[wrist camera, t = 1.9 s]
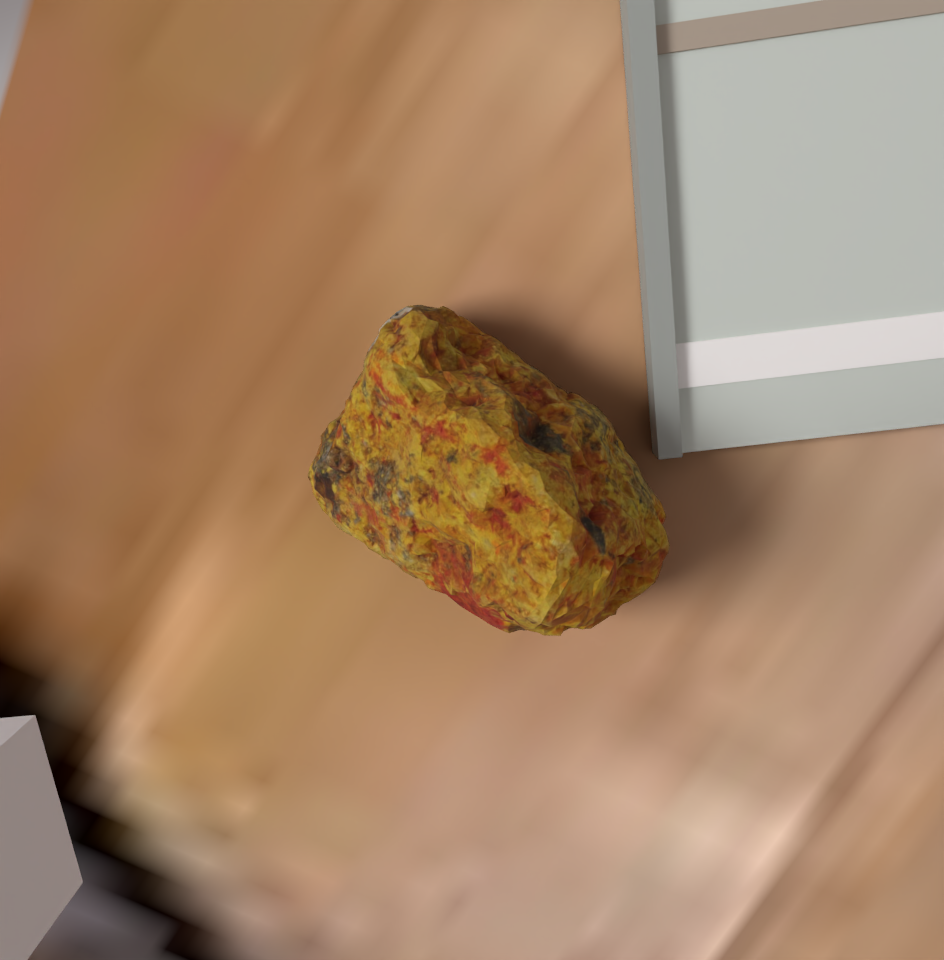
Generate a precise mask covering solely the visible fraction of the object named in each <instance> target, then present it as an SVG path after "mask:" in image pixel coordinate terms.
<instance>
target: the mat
mask: <svg viewBox="0 0 944 960" xmlns="http://www.w3.org/2000/svg"><path fill="white" fill-rule="evenodd" d="M620 9H621V23H622V37H623V50H624V64H625V78H626V92H627V106H628V120H629V134H630V148H631V162H632V176H633V190H634V204H635V218H636V232H637V246H638V260H639V274H640V287H641V301H642V315H643V329H644V343H645V357H646V371H647V385H648V399H649V413H650V427H651V441H652V453H653V454H654V455H655V456H656V457H657V458H658V459H659V460H660V459H669V458H678V457H683V455H682V453H686V452H695V451H704V450H713V449H722V448H731V447H740V446H749V445H758V444H767V443H776V442H785V441H794V440H803V439H812V438H821V437H830V436H839V435H848V434H857V433H866V432H874V431H883V430H892V429H901V428H910V427H919V426H928V425H937V424H944V0H620Z"/></svg>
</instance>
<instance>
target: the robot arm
mask: <svg viewBox="0 0 944 960" xmlns="http://www.w3.org/2000/svg"><path fill="white" fill-rule="evenodd" d="M82 883H83V881H82V877H81V874H80V870H79V867H78V863H77V860H76V856H75V853H74V849H73V846H72V842H71V839H70V835H69V832H68V828H67V825H66V821H65V818H64V814H63V811H62V807H61V804H60V800H59V797H58V794H57V790H56V787H55V783H54V780H53V776H52V773H51V769H50V766H49V762H48V759H47V755H46V752H45V748H44V745H43V741H42V738H41V734H40V731H39V727H38V724H37V720H36V717H35V715H31V716H20V717H9V718H0V960H28V958H29V957H30V955H31V954H32V953H33V951H34V950H35V948H36V947H37V946H38V944H39V943H40V941H41V940H42V939H43V937H44V936H45V934H46V933H47V932H48V930H49V929H50V928H51V926H52V925H53V923H54V922H55V921H56V919H57V918H58V916H59V915H60V914H61V912H62V911H63V909H64V908H65V907H66V905H67V904H68V902H69V901H70V900H71V898H72V897H73V895H74V894H75V893H76V891H77V890H78V888H79V887H80V886H81V884H82Z"/></svg>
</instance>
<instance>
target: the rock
mask: <svg viewBox="0 0 944 960" xmlns="http://www.w3.org/2000/svg"><path fill="white" fill-rule="evenodd" d="M308 478H309V480H310V482H311V485H312V490H313V494H314V496H315V497H316V499H317V501H318V503H319V505H320V506H321V508H322V510H323V511H324V512H325V513H326V514H327V515H328V516H329V517H330V519H331V520H332V521H333V522H334V524H335V525H336V526H337V527H338V528H339V529H341V530H342V531H344V532H346V533H347V534H349V535H351V536H354V537H355V538H357V539H358V540H360V541H362V542H364V543H365V544H366V546H367V547H368V548H369V549H371V550H372V551H374V552H376V553H378V554H379V555H381V556H382V557H383V558H385V559H388V560H391V561H392V562H393V563H395V564H396V565H398V566H399V567H400V568H401V569H402V571H404V572H406V573H408V574H409V575H411V576H413V577H415V578H420V579H421V580H423V581H424V582H425V584H426V586H427V587H428V588H429V589H432V590H435V591H438V592H441V593H445V594H447V595H448V596H449V597H450V598H451V599H453V600H454V601H455V602H456V603H457V604H459V605H460V606H461V607H463V608H465V609H466V610H468V611H469V612H471V613H473V614H474V615H476V616H478V617H479V618H481V619H483V620H484V621H486V622H487V623H489V624H490V625H492V626H494V627H496V628H498V629H501V630H503V631H505V632H508V633H510V632H514V631H517V630H529V631H533V632H538V633H540V634H542V635H554V636H561V634H562V632H563V631H565V630H567V629H569V628H579V629H589V628H592V627H594V626H595V625H597V624H598V623H600V622H601V621H603V620H605V619H606V618H608V617H609V616H612V615H615V614H616V611H617V609H618V608H619V607H620V606H621V605H622V604H623V603H626V602H629V601H630V600H632V599H633V598H635V597H637V596H638V595H640V594H641V593H643V592H644V591H645V590H646V589H648V588H649V587H650V586H651V585H652V584H653V583H655V581H656V579H657V578H658V576H659V573H660V570H661V567H662V562H663V560H664V558H665V557H666V555H667V554H668V552H669V547H670V545H669V541H668V537H667V534H666V531H665V529H664V527H663V526H662V525H663V523H664V521H665V518H666V515H665V512H664V509H663V507H662V504H661V502H660V501H659V500H658V499H657V498H656V496H655V495H654V493H653V492H652V490H651V489H650V487H649V486H648V485H647V483H646V481H645V480H644V478H643V477H642V475H641V472H640V470H639V468H638V466H637V464H636V462H635V461H634V460H633V459H632V458H631V457H630V456H629V455H628V453H627V452H626V450H625V448H624V446H623V443H622V442H621V441H620V439H619V438H618V437H617V436H616V433H615V431H614V428H613V426H612V424H611V423H610V421H609V420H608V419H607V418H606V416H605V415H604V414H603V413H602V412H601V411H600V410H599V409H598V408H597V407H596V406H594V405H592V404H589V403H588V402H587V401H586V400H585V399H584V398H582V397H581V396H580V395H577V394H574V393H569V394H567V393H566V392H565V391H564V390H562V389H560V388H558V387H556V386H555V385H554V384H553V383H552V382H551V381H550V380H549V379H548V378H547V377H546V376H545V375H544V374H542V373H541V372H540V371H539V370H537V369H536V368H534V367H532V366H530V365H528V364H526V363H525V362H523V360H522V359H521V358H520V357H519V356H518V355H517V354H516V353H514V352H512V351H511V350H509V349H508V348H507V347H505V346H504V345H503V344H502V343H501V342H500V341H498V340H497V339H496V338H494V337H493V336H491V335H488V334H485V333H483V332H482V331H481V330H479V329H478V328H477V327H476V326H475V325H474V324H473V323H471V322H470V321H468V320H467V319H465V318H463V317H461V316H457V315H456V314H455V312H454V311H452V310H450V309H448V308H446V307H444V306H442V307H440V308H433V307H427V306H423V305H413V306H407V307H405V308H403V309H401V310H400V311H398V312H396V313H395V314H394V315H393V316H392V317H391V318H390V319H388V320H387V321H386V322H385V324H384V325H383V326H382V327H381V328H380V329H379V335H378V336H377V338H376V339H375V341H374V342H373V344H372V345H371V347H370V349H369V350H368V352H367V355H366V358H365V361H364V369H363V371H362V373H361V374H360V376H359V377H358V379H357V381H356V383H355V384H354V386H353V389H352V391H351V394H350V396H349V399H347V400H346V406H345V409H344V410H343V411H342V413H341V415H340V416H339V417H338V418H337V419H335V420H334V421H332V422H330V423H329V425H328V427H327V428H326V430H325V431H324V432H323V434H322V435H321V444H320V447H319V449H318V452H317V455H316V458H315V459H314V461H313V462H312V464H311V466H310V468H309V473H308Z"/></svg>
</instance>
